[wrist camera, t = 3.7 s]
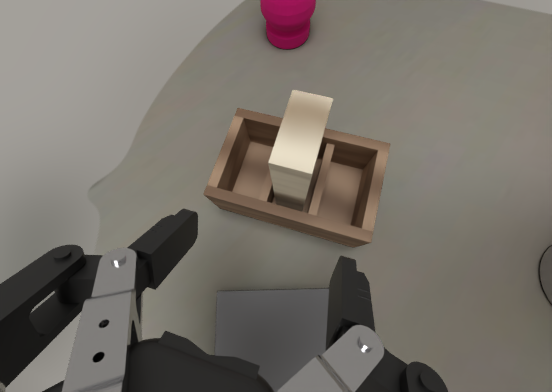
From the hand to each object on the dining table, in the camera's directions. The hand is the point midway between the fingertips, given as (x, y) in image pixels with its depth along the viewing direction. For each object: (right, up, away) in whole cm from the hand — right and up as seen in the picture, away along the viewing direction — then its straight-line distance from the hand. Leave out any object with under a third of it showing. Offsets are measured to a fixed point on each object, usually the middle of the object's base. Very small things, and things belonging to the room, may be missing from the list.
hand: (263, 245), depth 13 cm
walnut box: (+3, +4, +16) cm, 17 cm away
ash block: (+3, +4, +15) cm, 16 cm away
